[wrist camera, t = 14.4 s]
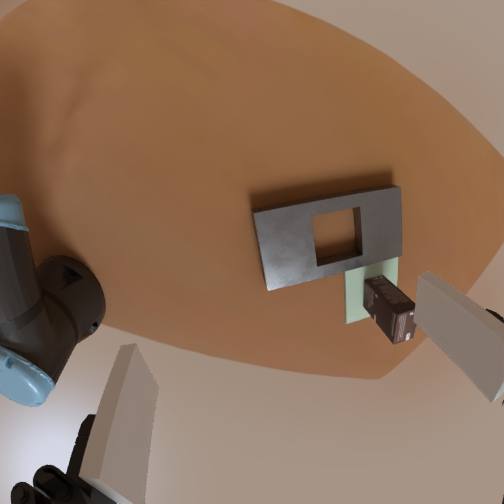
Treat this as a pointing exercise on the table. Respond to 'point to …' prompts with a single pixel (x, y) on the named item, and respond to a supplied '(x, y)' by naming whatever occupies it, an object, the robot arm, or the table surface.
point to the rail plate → (302, 239)
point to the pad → (356, 286)
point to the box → (389, 308)
